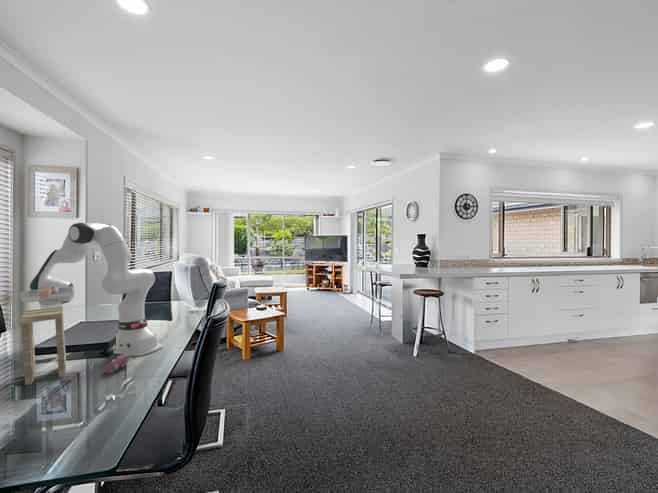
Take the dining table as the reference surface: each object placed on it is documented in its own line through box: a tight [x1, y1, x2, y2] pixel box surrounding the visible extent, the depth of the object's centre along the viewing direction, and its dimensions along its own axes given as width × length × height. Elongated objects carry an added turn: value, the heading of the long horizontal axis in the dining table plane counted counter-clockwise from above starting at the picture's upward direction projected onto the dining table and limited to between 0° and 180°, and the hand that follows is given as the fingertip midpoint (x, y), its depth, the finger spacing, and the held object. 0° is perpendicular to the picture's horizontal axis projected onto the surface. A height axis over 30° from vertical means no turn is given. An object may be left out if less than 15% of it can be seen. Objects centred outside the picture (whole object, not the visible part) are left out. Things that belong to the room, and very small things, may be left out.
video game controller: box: [102, 354, 131, 374], centre depth 140 cm, size 10×5×7 cm, turn 170°
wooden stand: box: [19, 305, 67, 386], centre depth 135 cm, size 16×12×26 cm
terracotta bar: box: [39, 285, 52, 299], centre depth 152 cm, size 22×3×3 cm, turn 37°
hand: (47, 288), depth 158 cm, fingers closed on terracotta bar, 3 cm apart
